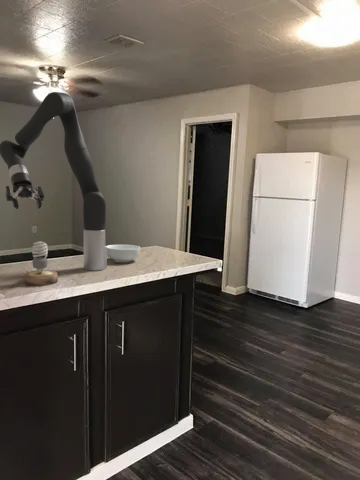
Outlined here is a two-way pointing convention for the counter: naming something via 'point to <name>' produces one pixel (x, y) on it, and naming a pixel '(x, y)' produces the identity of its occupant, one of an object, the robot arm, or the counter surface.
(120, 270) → the counter surface
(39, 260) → the light bulb
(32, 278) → the bulb stand
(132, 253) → the cereal bowl
